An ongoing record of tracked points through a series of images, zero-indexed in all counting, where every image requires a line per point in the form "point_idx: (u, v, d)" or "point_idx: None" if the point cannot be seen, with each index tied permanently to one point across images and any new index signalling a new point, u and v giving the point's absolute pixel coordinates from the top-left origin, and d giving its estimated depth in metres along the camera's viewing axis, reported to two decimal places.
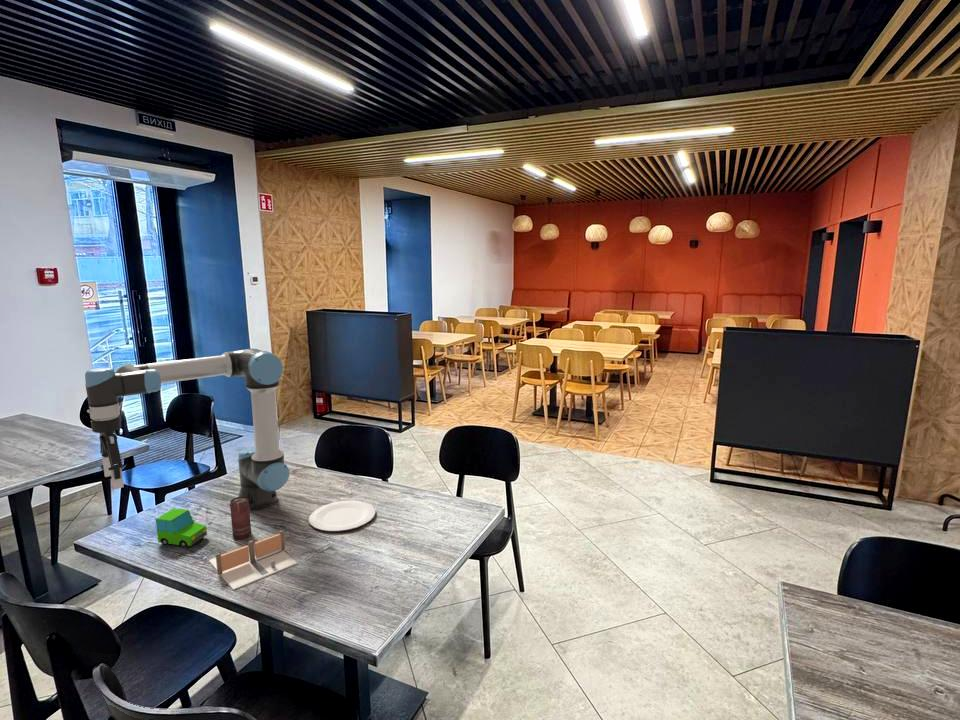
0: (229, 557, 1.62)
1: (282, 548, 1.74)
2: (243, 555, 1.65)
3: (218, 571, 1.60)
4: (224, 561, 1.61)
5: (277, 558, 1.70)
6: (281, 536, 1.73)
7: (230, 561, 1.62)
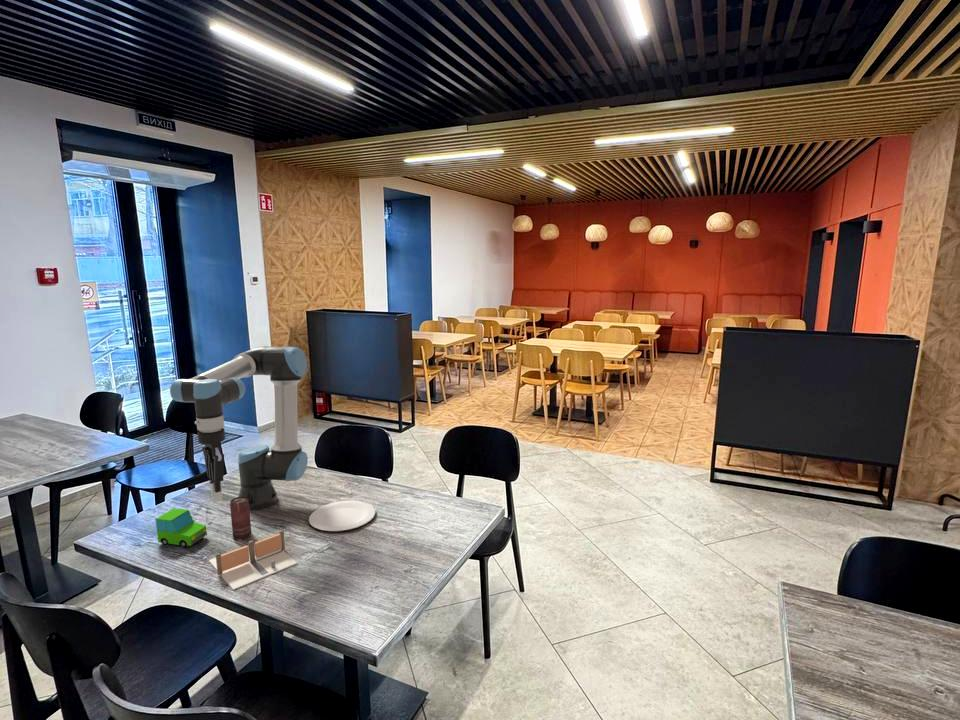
0: (229, 557, 1.62)
1: (282, 548, 1.74)
2: (243, 555, 1.65)
3: (218, 571, 1.60)
4: (224, 561, 1.61)
5: (277, 558, 1.70)
6: (281, 536, 1.73)
7: (230, 561, 1.62)
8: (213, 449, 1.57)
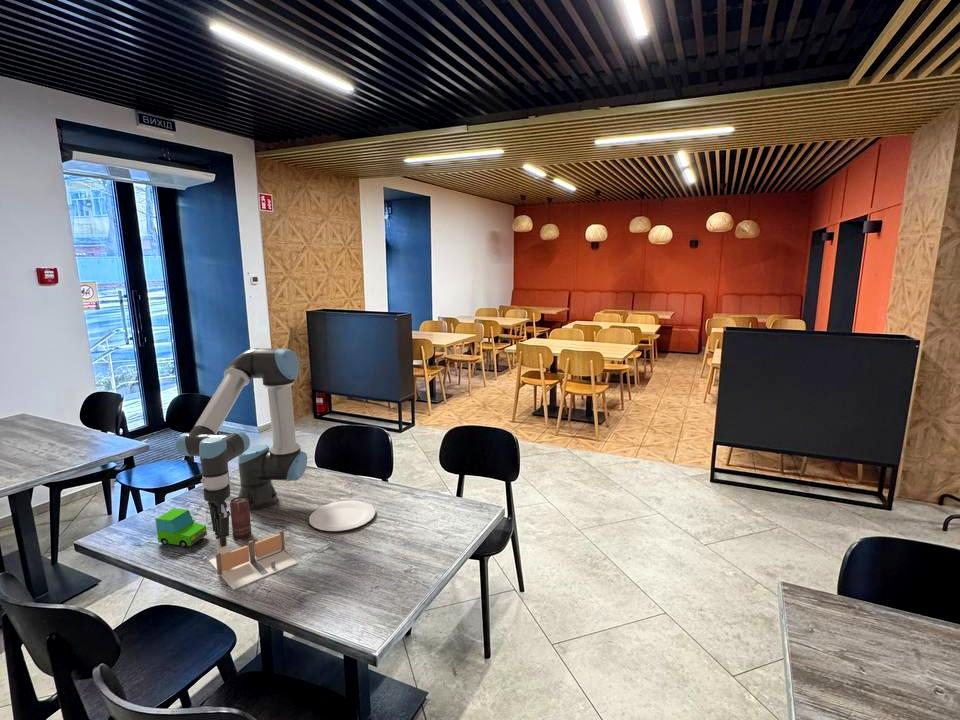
0: (229, 557, 1.62)
1: (282, 548, 1.74)
2: (243, 555, 1.65)
3: (218, 571, 1.60)
4: (224, 561, 1.61)
5: (277, 558, 1.70)
6: (281, 536, 1.73)
7: (230, 561, 1.62)
8: (219, 506, 1.60)
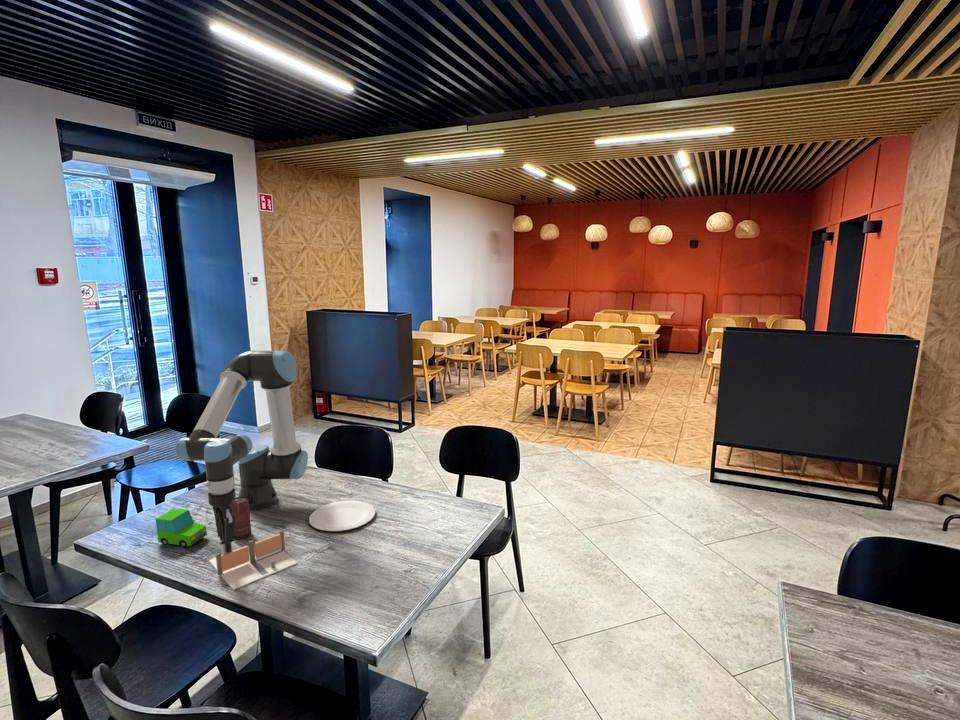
0: (229, 557, 1.62)
1: (282, 548, 1.74)
2: (243, 555, 1.65)
3: (218, 571, 1.60)
4: (224, 561, 1.61)
5: (277, 558, 1.70)
6: (281, 536, 1.73)
7: (230, 561, 1.62)
8: (224, 511, 1.57)
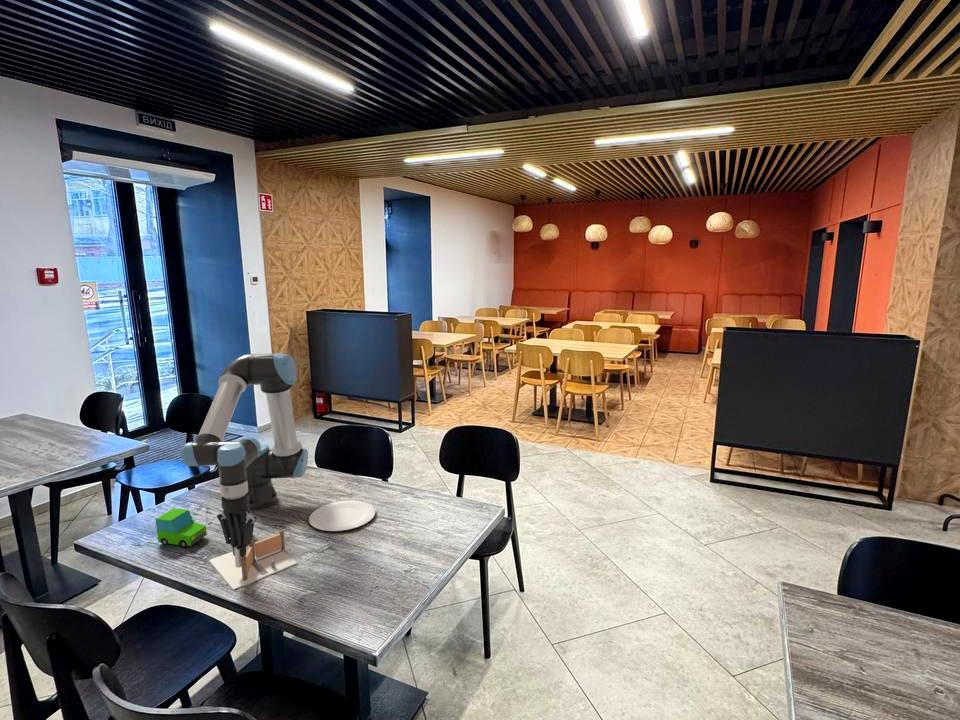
0: (248, 559, 1.60)
1: (282, 548, 1.74)
2: (251, 556, 1.65)
3: (245, 576, 1.57)
4: (246, 564, 1.59)
5: (277, 558, 1.70)
6: (281, 536, 1.73)
7: (248, 564, 1.61)
8: (244, 514, 1.55)
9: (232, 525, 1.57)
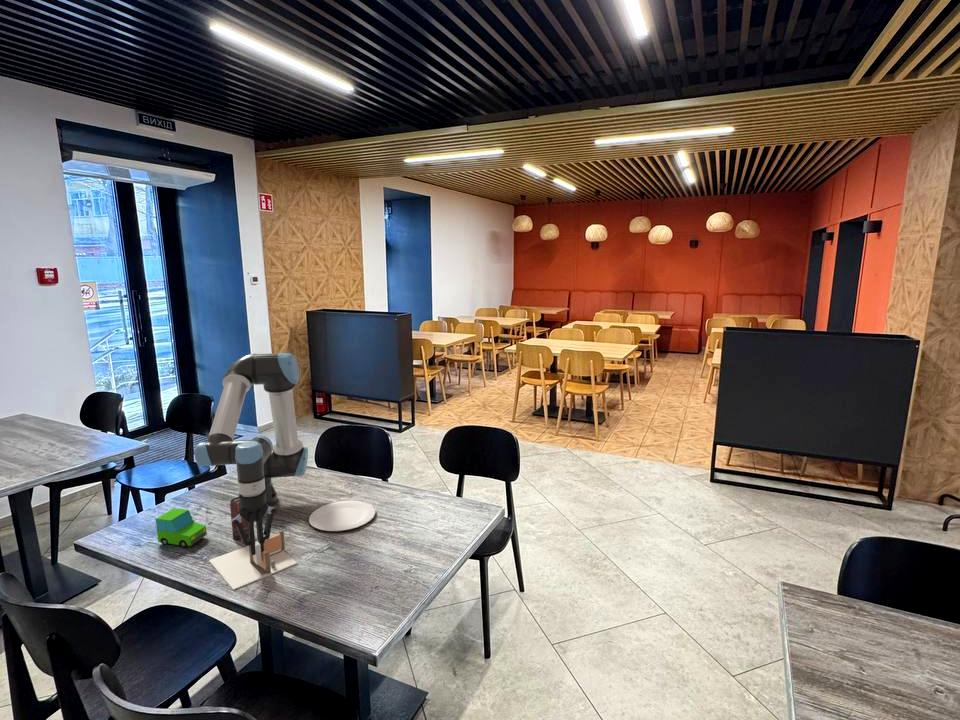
0: None
1: (282, 548, 1.74)
2: None
3: (270, 569, 1.61)
4: None
5: (277, 558, 1.70)
6: (281, 536, 1.73)
7: None
8: (267, 505, 1.61)
9: None
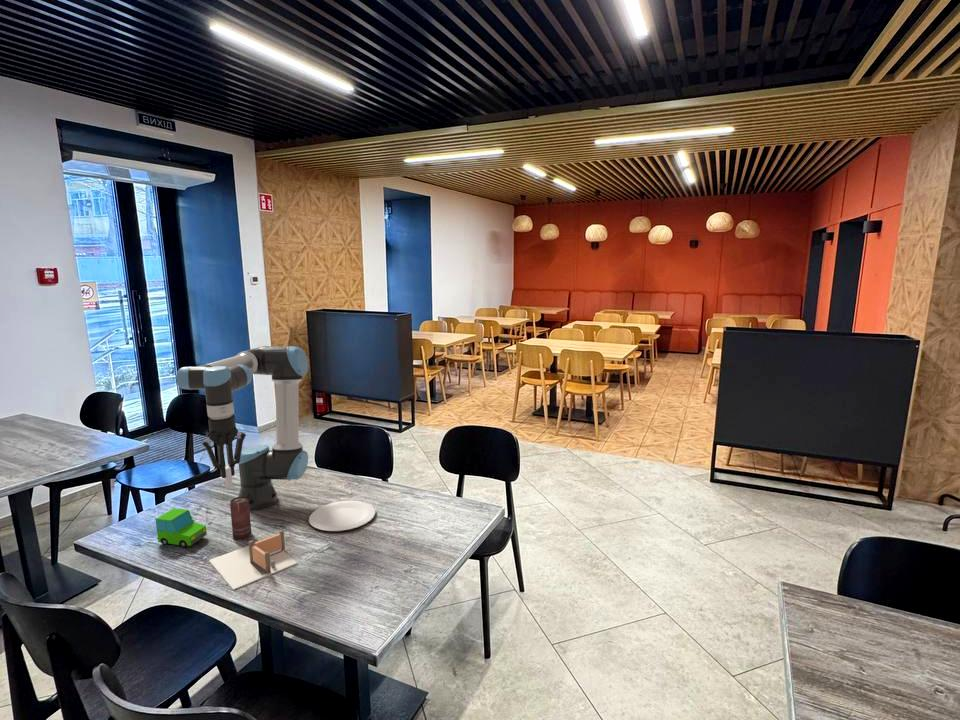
0: None
1: (282, 548, 1.74)
2: None
3: (270, 569, 1.61)
4: None
5: (277, 558, 1.70)
6: (281, 536, 1.73)
7: None
8: (237, 430, 1.63)
9: None
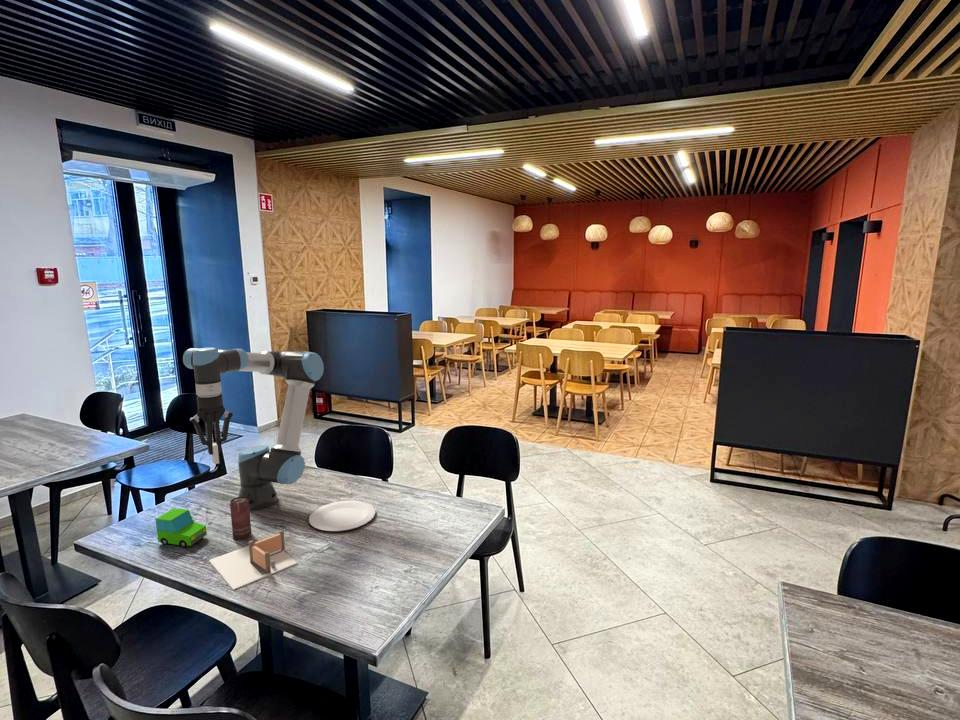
0: None
1: (282, 548, 1.74)
2: None
3: (270, 569, 1.61)
4: None
5: (277, 558, 1.70)
6: (281, 536, 1.73)
7: None
8: (224, 409, 1.72)
9: (210, 424, 1.69)
